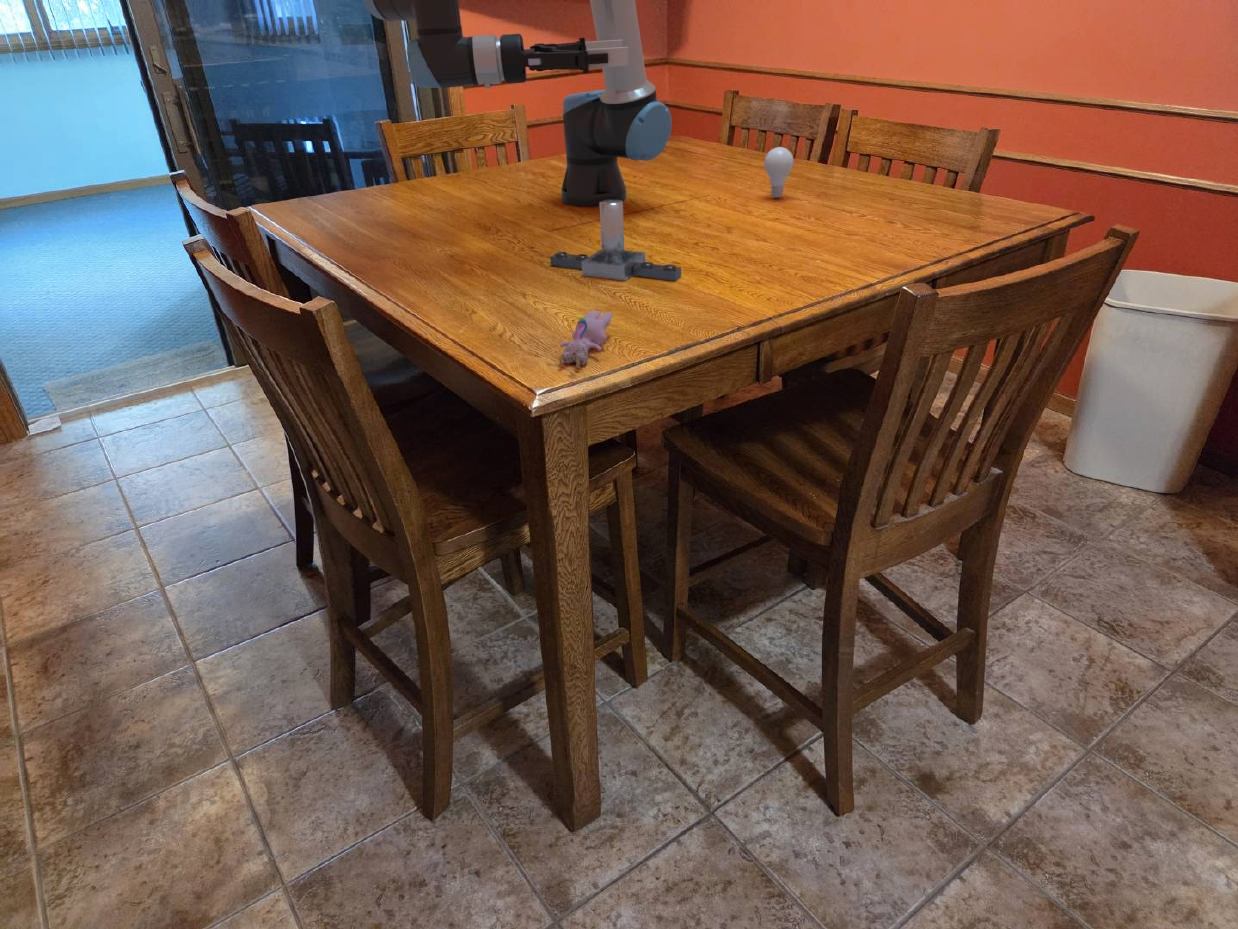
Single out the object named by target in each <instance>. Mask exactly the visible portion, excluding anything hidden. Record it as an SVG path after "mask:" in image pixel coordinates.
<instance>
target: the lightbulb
mask: <svg viewBox="0 0 1238 929" xmlns="http://www.w3.org/2000/svg"><path fill="white" fill-rule="evenodd" d="M763 161H764V163H763V164H764V168H765V171H766V173H767V175H768V177H769V181H770V182H769V183H770V185H771V188H770V193H771V194H770V196H771V197H772V198H773V199H775V200H778V199H781V198H782V197H783V196H784V195H783V194H784V185H785V182H786V180H787V177H788V175H789V174H790V172H791V171H792V169H793V166H794V156H793V154H792V152H791V151H790V150H789V149H788V148H785V147H783V146H778V147H774V148H772V149H770V151H768V152H767V154H766V155H765V158H764V160H763Z"/></svg>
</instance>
